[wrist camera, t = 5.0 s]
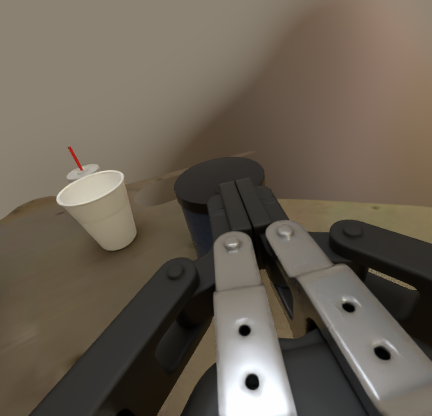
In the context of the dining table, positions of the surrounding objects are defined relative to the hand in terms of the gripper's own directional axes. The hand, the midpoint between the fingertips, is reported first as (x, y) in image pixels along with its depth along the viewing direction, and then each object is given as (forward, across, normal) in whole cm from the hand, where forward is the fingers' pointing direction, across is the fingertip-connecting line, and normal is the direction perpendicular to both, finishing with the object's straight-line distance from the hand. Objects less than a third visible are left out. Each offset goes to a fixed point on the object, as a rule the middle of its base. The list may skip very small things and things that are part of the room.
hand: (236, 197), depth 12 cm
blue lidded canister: (+17, 0, -20) cm, 26 cm away
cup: (+25, -19, -20) cm, 37 cm away
